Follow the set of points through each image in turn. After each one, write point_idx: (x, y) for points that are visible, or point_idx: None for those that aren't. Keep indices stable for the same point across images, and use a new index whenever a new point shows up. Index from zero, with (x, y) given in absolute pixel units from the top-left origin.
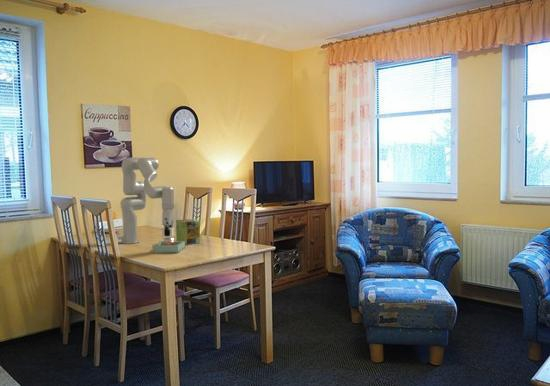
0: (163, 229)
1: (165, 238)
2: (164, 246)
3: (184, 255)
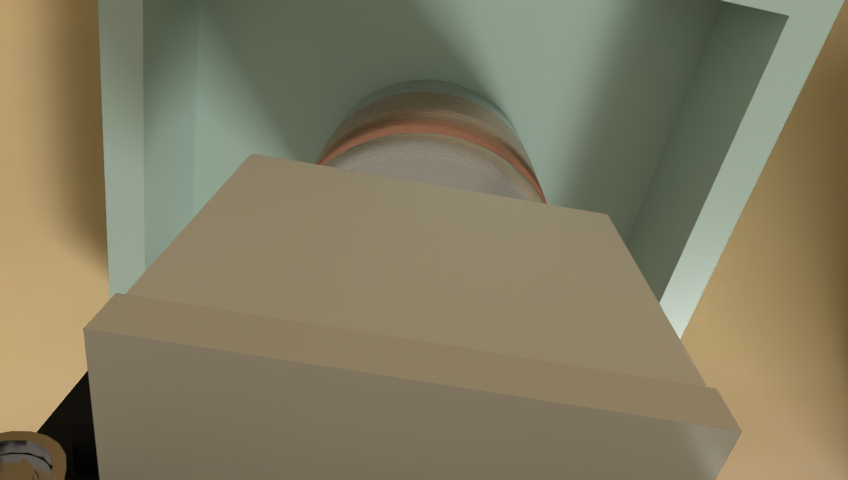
0: (113, 378)
1: None
2: (110, 151)
3: (10, 407)
